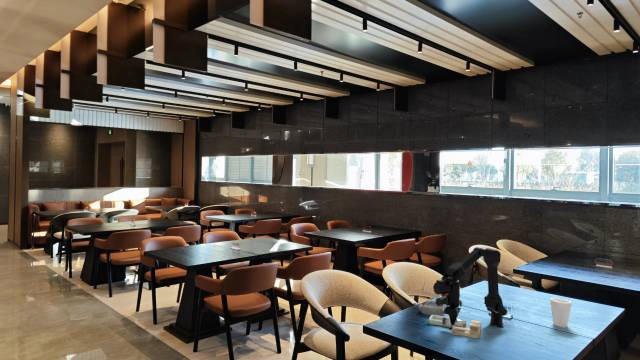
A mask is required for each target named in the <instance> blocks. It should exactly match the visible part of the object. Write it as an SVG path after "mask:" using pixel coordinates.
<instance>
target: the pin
mask: <svg viewBox="0 0 640 360" xmlns="http://www.w3.org/2000/svg"><path fill="white" fill-rule="evenodd" d="M444 317H445V316H444ZM444 317H443V319H442V324H443V325H449V326H455V327H461V328H467V320H463V319H462V320H457V319H458V318H457V319H456V321H455V323H454V325H451V322H450V318H444Z"/></svg>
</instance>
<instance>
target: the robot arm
mask: <svg viewBox="0 0 640 360" xmlns="http://www.w3.org/2000/svg"><path fill="white" fill-rule="evenodd" d="M501 256H502V254H501V252H500V251H499V250H497V249H493V248H488V247H486V248H485V249H484V248H482V247H474V248H473V250H472V251H470V252H469V253H468V254H467V255H466V256H464V257H463V258H462V259H461V260H460V261H458V262H456V263H453V264H451V265H449V266H448V267H446V270H445V272H443V273H444V274H443V275H442V277H441V278H440V279H437V280H436V281H435V283H434V284H433V292H434V293H435V294H436V295H437V296H438V295H441V294H447V295H446V296H443V297H442V296H439V297H436V298H435V300H434V301H436V304H437V306H440V305H445V309H444V315H448V317H449V318H450V322H451V325H454V323H455V321H456V319H458V316H459V314H460V312H461V309H462V306H463V301H462V300H461V299H460V298H461V294H460V293H461V292H460V291H461V286H460V285H462V284H463V285H464V281H463V280H462V279H463V277H464V275H465V274H466V271H467V270H468V269H469V268H470V267H471V266H472V265H473V264H475V263H476V262H477V261H478V260H479V259H480V258H483V259H482V260H483V261H484V263H485V266H486V271H487V272H486V273H487V291H488V293H487V295H485V296H484V297H483V300H484V302H483V303H484V305H485V308H486V310H487V311H488V312H490V321H489V326H493V327H499V328H504V320H503V319H504V316H507V313H508V310H507V308H505V306H504V303H503V299H502V296H501V295H500V290H499V273H498V272H499V271H498V266H499V264H500V263H501Z"/></svg>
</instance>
